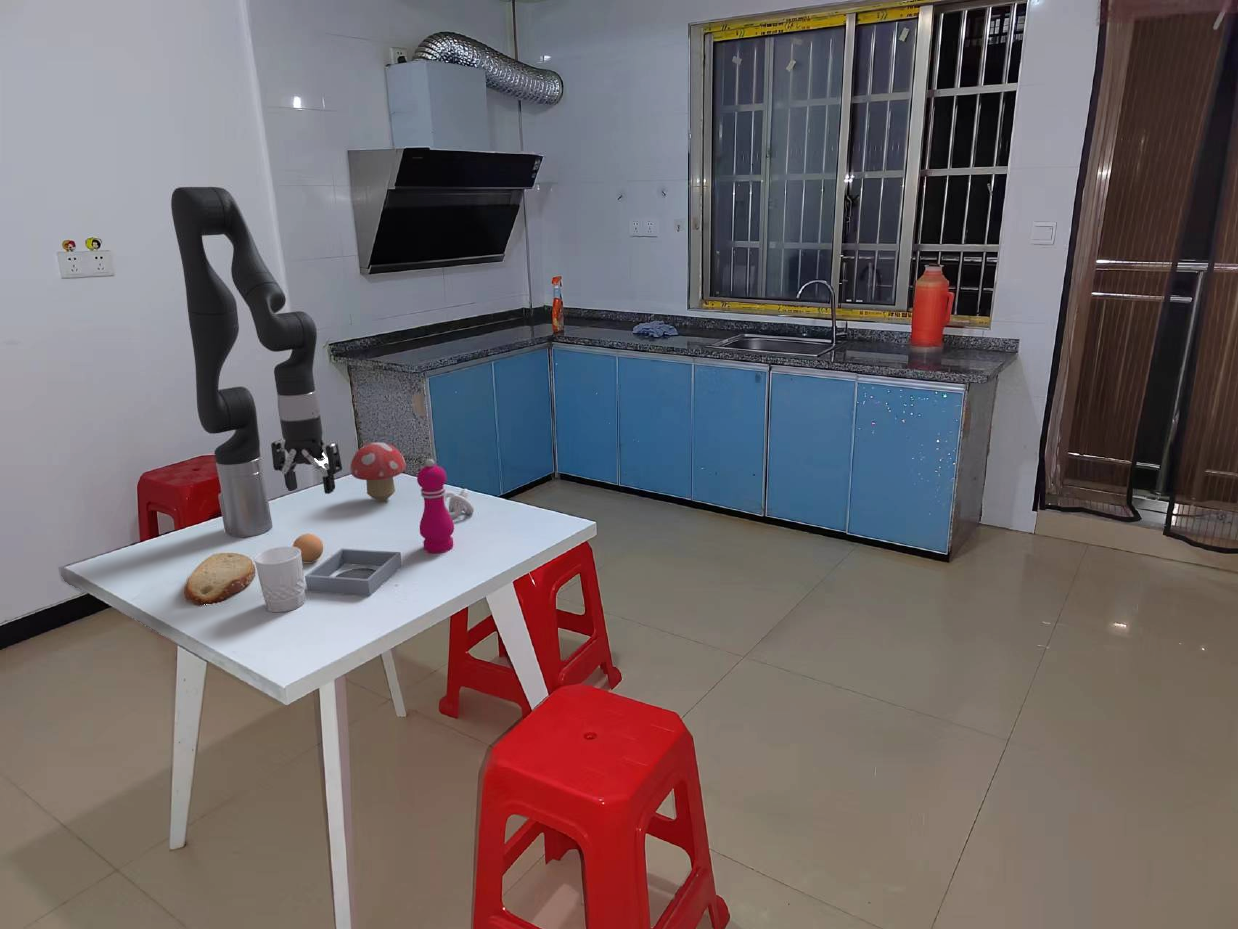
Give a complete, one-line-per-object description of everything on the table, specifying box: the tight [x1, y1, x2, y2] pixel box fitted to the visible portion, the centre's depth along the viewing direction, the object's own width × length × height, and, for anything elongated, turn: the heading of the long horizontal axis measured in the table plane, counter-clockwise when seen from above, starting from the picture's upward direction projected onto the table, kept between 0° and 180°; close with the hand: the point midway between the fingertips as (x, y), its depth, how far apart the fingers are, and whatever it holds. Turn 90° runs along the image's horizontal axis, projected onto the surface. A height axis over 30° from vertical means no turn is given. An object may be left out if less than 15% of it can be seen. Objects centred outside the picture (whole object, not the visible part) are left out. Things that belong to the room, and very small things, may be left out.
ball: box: [292, 533, 324, 564], centre depth 164 cm, size 6×6×6 cm
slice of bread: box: [183, 552, 256, 606], centre depth 156 cm, size 18×18×4 cm
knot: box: [444, 488, 474, 520], centre depth 188 cm, size 8×8×6 cm
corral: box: [304, 547, 403, 597], centre depth 156 cm, size 13×13×3 cm
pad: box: [334, 567, 378, 579], centre depth 156 cm, size 9×9×1 cm
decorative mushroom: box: [350, 442, 407, 502], centre depth 197 cm, size 13×13×15 cm
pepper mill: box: [416, 458, 455, 554], centre depth 167 cm, size 7×7×20 cm
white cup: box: [253, 545, 306, 613], centre depth 145 cm, size 8×8×10 cm
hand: (311, 491), depth 161 cm, fingers open, 8 cm apart
